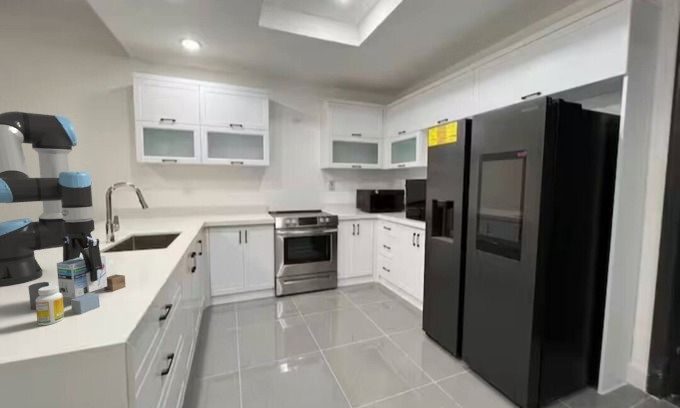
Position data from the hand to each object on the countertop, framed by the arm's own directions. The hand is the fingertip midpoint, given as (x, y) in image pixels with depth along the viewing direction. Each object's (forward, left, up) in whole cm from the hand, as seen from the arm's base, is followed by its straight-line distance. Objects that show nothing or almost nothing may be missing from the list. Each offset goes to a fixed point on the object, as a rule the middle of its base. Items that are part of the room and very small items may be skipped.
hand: (84, 289), depth 97 cm
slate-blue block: (+9, -6, -3) cm, 11 cm away
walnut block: (0, +9, -3) cm, 10 cm away
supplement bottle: (+8, -14, -3) cm, 16 cm away
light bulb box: (0, 0, -1) cm, 1 cm away
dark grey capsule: (-7, -8, -3) cm, 11 cm away
